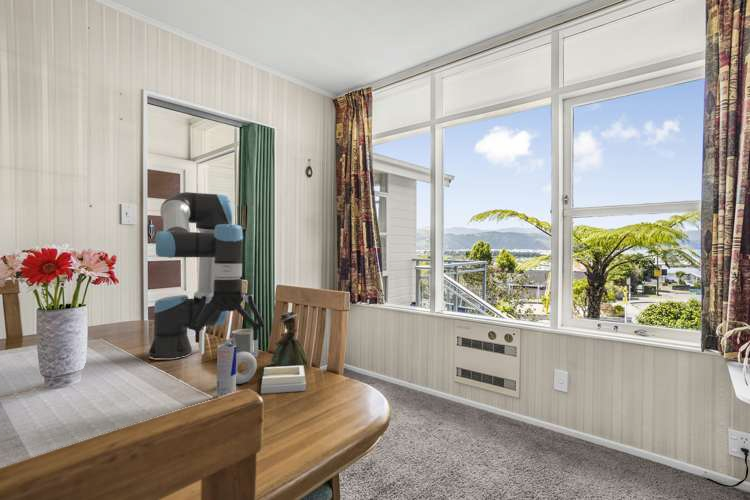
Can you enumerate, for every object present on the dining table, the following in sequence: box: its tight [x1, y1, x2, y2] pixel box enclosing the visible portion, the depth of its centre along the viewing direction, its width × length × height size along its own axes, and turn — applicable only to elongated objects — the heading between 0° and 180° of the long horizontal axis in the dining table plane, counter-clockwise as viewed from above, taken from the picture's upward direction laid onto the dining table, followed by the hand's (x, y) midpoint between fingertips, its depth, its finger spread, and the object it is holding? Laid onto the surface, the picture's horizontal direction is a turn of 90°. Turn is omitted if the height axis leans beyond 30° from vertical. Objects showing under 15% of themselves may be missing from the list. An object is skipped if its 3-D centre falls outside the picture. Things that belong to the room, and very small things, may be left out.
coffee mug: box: [223, 328, 259, 358], centre depth 151 cm, size 13×10×10 cm
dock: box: [260, 365, 307, 394], centre depth 123 cm, size 16×13×4 cm
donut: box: [236, 352, 258, 385], centre depth 122 cm, size 10×4×10 cm, turn 135°
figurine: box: [271, 311, 309, 367], centre depth 141 cm, size 14×14×20 cm
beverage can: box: [216, 343, 237, 398], centre depth 111 cm, size 5×5×15 cm
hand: (227, 352), depth 110 cm, fingers open, 13 cm apart
